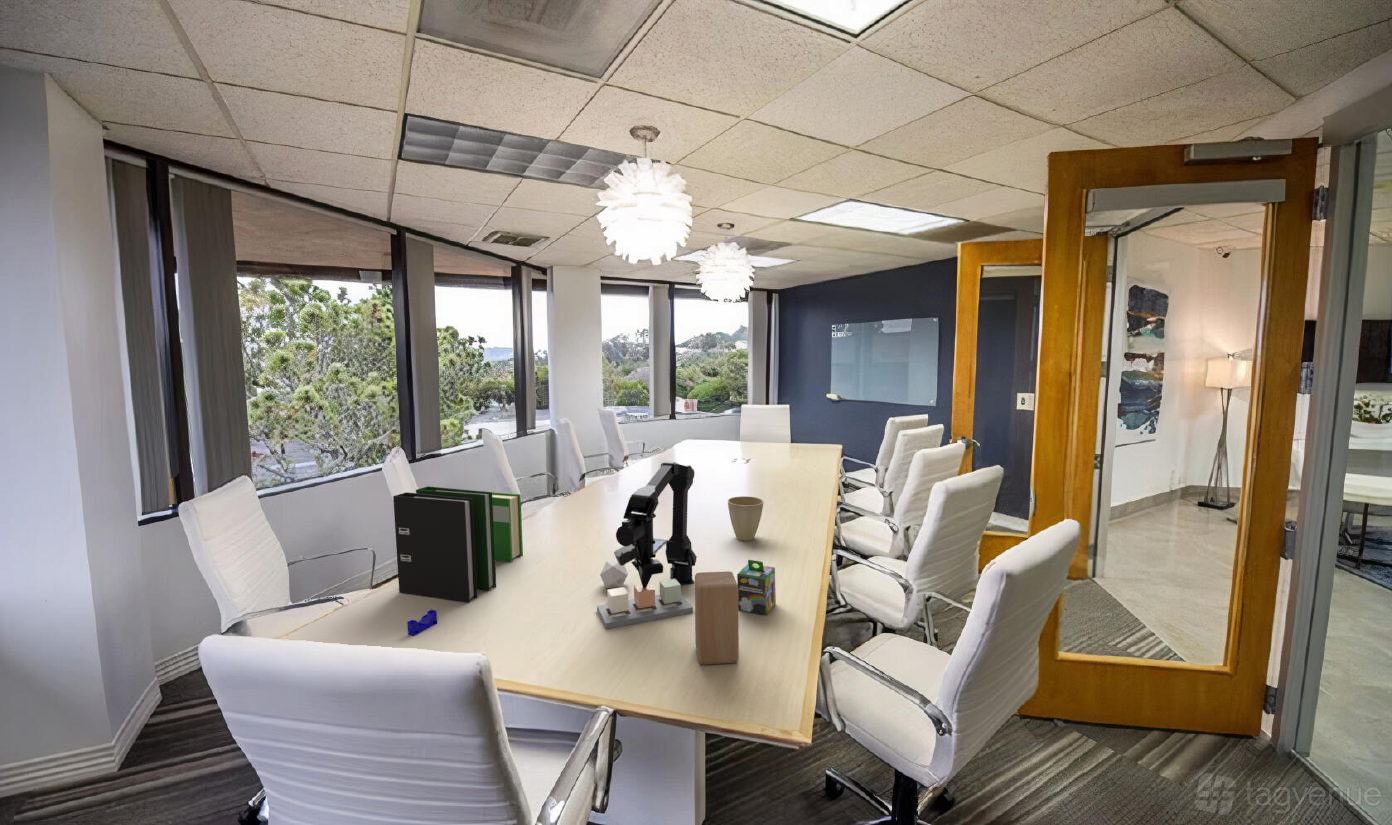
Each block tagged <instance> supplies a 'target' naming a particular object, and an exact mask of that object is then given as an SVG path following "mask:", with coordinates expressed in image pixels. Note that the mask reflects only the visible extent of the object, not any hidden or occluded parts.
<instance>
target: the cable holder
mask: <svg viewBox="0 0 1392 825" xmlns="http://www.w3.org/2000/svg"><path fill="white" fill-rule="evenodd" d="M406 624H407V636H411V637H415V636H417V635H419V634H421V633H422V632H424V631H427V630H428V629H430V628H432V627H434V626H435V625H438V611H437V610H434V609H430V610H428V611H427V613H426V614H425V615H423V616H421V618H420V620H416V619H410V620H409V621H407V622H406Z"/></svg>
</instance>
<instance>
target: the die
mask: <svg viewBox="0 0 1392 825" xmlns="http://www.w3.org/2000/svg"><path fill="white" fill-rule="evenodd" d="M628 575H629V573H628V571H627V569H626V566H625V565H623V566H621V565H620V564H619V563H618V561H617V560H606V561H605V564H604V566H603V568H602V570H601V571H600V574H599V576H600V579H601V581H602V582H603V585H604V587H605V589H615V588H621V587H624V583H625V582H626V579H627V577H628Z"/></svg>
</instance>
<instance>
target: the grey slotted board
mask: <svg viewBox="0 0 1392 825" xmlns="http://www.w3.org/2000/svg"><path fill="white" fill-rule="evenodd" d="M676 603H677V605H672V606H667V607H664V604H665V603H664V602H663V601H662V599H661V598H660V594H658V595H656V594H655V606H651V607H652V608H653V609H650V610H644V611H637V610H636V609H639V608H638V607H637V605H636V603H635V602H634V598H633V599H629V610H628V611H626V613H627V614H623V615H617V616H610V614H612V613H611V611H610V609H609V607H608V603H606V604H605V603H604V604H599V605H597V606H596V611H597V614H598V616H599V617H600V620H601V622H602V623H603V626H604V628H605V630H607V629H614V628H618V627H624V626H628V625H633V624H640V623H645V622H650V621H656V620H661V619H665V618H671V617H677V616H683V615H686V614H692V613H694V606H692V604H691V603H690V602H689V601H688V600H687V599H686V597H685V596H684V595H683V594H682V593H681V601H678V602H676Z"/></svg>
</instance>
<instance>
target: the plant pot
mask: <svg viewBox="0 0 1392 825" xmlns="http://www.w3.org/2000/svg"><path fill="white" fill-rule="evenodd" d="M727 506H728V514H729V518H730V523H731V526H732V529H733V532H734V535H735V537H736V539H737V540H739V541H744V542H745V541H746V542H748V541H752V540H754V539H755V537H756V534H757V532H758V528H759V524H760V521H761V518H762V514H763V509H764V500H763V499H761V498H759V497H754V496H750V495H749V496H746V495H745V496H741V495H740V496H734V497H733V496H732V497H730V498H728V499H727Z"/></svg>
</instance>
